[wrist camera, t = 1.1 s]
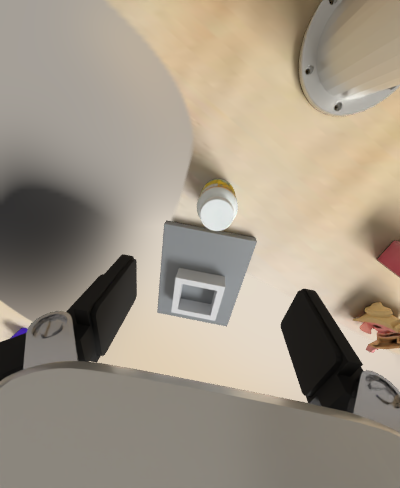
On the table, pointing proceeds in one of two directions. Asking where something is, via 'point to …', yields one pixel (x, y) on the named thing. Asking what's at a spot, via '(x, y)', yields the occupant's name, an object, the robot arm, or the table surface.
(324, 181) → the table surface
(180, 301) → the socket holder
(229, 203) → the supplement bottle
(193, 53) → the table surface
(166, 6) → the table surface
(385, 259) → the small box
